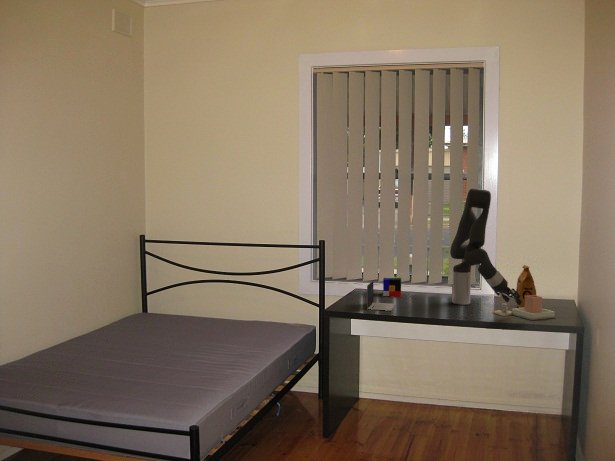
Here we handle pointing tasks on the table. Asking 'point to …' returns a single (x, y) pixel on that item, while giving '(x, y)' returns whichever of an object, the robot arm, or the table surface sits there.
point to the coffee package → (525, 285)
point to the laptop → (376, 305)
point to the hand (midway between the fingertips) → (514, 302)
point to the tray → (533, 314)
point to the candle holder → (503, 310)
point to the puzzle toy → (392, 286)
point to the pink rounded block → (533, 304)
